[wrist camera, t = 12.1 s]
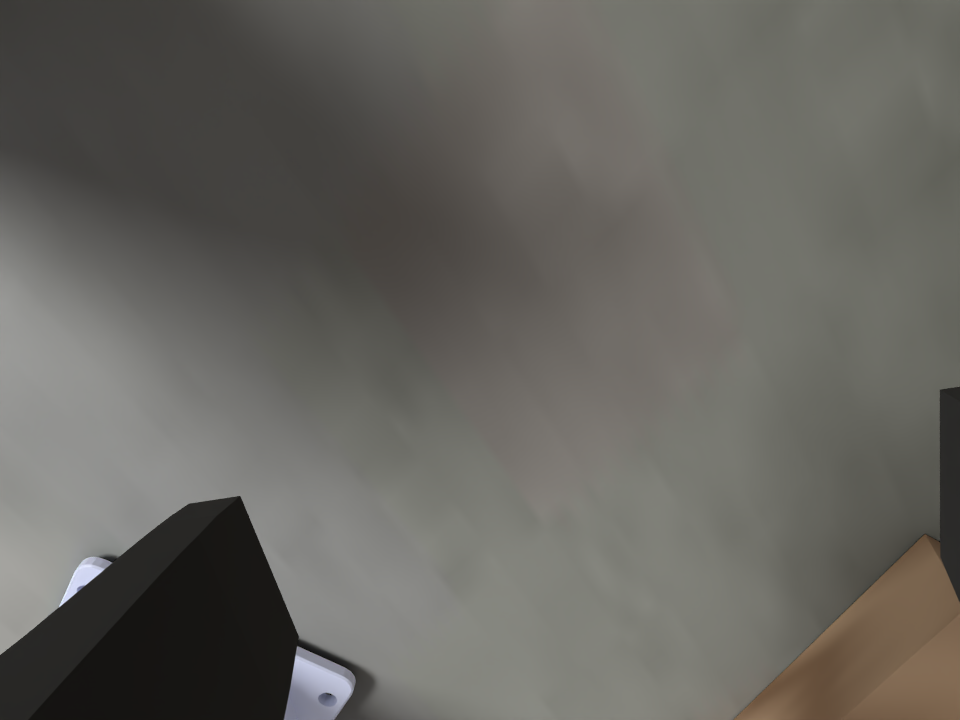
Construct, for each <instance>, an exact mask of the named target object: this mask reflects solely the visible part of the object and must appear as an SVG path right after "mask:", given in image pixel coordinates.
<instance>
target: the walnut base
mask: <svg viewBox="0 0 960 720" xmlns="http://www.w3.org/2000/svg"><path fill="white" fill-rule="evenodd" d="M734 720H960V602H959V600H958V598H957V595H956V593H955V591H954V588H953V586H952V584H951V581H950V579H949V577H948V574H947V572H946V570H945V567H944V565H943V562H942V560H941V558H940V542H939V541H937V540H935V539H933V538H931V537H929V536H928V535H926V534H924V535H923V536H922V537H921V538H920V539H919V540H918V541H917V542H916V543H915V544H914V545H913V546H912V547H911V548H910V549H909V550H908V551H907V552H906V553H905V554H904V555H903V556H902V557H901V558H900V559H899V560H898V561H897V562H895V563H894V564H893V565H892V566H891V567H890V568H889V569H888V570H887V571H886V572H885V573H884V574H883V575H882V576H881V577H880V578H879V579H878V580H877V581H876V582H875V583H874V584H873V585H872V586H871V587H870V588H869V589H868V590H867V591H866V592H865V593H864V594H863V595H861V596H860V597H859V598H858V599H857V600H856V601H855V602H854V603H853V604H852V605H851V606H850V607H849V608H848V609H847V610H846V611H845V612H844V613H843V614H842V615H841V616H840V617H839V618H838V619H837V620H836V621H835V622H834V623H833V624H832V625H831V626H830V627H829V628H827V629H826V630H825V631H824V632H823V633H822V634H821V635H820V636H819V637H818V638H817V639H816V640H815V641H814V642H813V643H812V644H811V645H810V646H809V647H808V648H807V649H806V650H805V651H804V652H803V653H802V654H801V655H800V656H799V657H798V658H797V659H796V660H794V661H793V662H792V663H791V664H790V665H789V666H788V667H787V668H786V669H785V670H784V671H783V672H782V673H781V674H780V675H779V676H778V677H777V678H776V679H775V680H774V681H773V682H772V683H771V684H770V685H769V686H768V687H767V688H766V689H765V690H764V691H763V692H762V693H760V694H759V695H758V696H757V697H756V698H755V699H754V700H753V701H752V702H751V703H750V704H749V705H748V706H747V707H746V708H745V709H744V710H743V711H742V712H741V713H740V714H739V715H738V716H737V717H736V718H735V719H734Z"/></svg>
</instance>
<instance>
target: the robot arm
mask: <svg viewBox="0 0 960 720" xmlns="http://www.w3.org/2000/svg"><path fill="white" fill-rule="evenodd" d="M940 558H941V560H942V562H943V565H944V567H945V570H946V572H947V574H948V577H949V579H950V581H951V584H952V586H953V588H954V591H955V593H956V595H957V598H958V600H959V602H960V387H955V388H948V389H942V390H940ZM298 638H299V636H298V634H297V631H296V629H295V626H294V624H293V622H292V619H291V617H290V614H289V612H288V610H287V607H286V605H285V602H284V600H283V598H282V595H281V593H280V590H279V588H278V586H277V583H276V581H275V578H274V576H273V574H272V571H271V569H270V566H269V564H268V562H267V559H266V557H265V554H264V552H263V550H262V547H261V545H260V542H259V540H258V538H257V535H256V533H255V530H254V528H253V526H252V523H251V521H250V518H249V516H248V514H247V511H246V509H245V506H244V504H243V502H242V499H241V497H240V496H237V497H231V498H224V499H218V500H211V501H204V502H198V503H191V504H188V505H187V506H185V507H184V508H182V509H181V510H179V511H178V512H176V513H175V514H173V515H172V516H170V517H169V518H168V519H166V520H165V521H164V522H162V523H161V524H160V525H158V526H157V527H156V528H155V529H153V530H152V531H151V532H149V533H148V534H147V535H146V536H144V537H143V538H142V539H141V540H140V541H138V542H137V543H136V544H135V545H133V546H132V547H131V548H130V549H129V550H127V551H126V552H125V553H124V554H122V555H121V556H120V557H119V558H118V559H116V560H115V561H114V562H113V563H112V562H110V561H108V560H105V559H102V558H99V557H89V558H86V559H84V560H83V561H82V562H81V564H80V565H79V566H78V568H77V569H76V571H75V572H74V575H73V577H72V579H71V581H70V584H69V586H68V588H67V590H66V593H65V595H64V597H63V599H62V602H61V604H60V606H59V608H58V609H57V610H55V611H54V612H53V613H52V614H51V615H49V616H48V617H47V618H46V619H45V620H43V621H42V622H41V623H40V624H39V625H37V626H36V627H35V628H34V629H33V630H31V631H30V632H29V633H28V634H26V635H25V636H24V637H23V638H21V639H20V640H19V641H18V642H16V643H15V644H14V645H12V646H11V647H10V648H9V649H7V650H6V651H5V652H4V653H2V654H1V655H0V720H334V719H335V718H336V717H337V715H338V714H339V712H340V711H341V709H342V708H343V707H344V705H345V704H346V702H347V701H348V700H349V698H350V697H351V695H352V693H353V690H354V687H355V683H356V680H355V676H354V675H353V673H352V672H351V671H350V670H348V669H346V668H345V667H343V666H340V665H338V664H336V663H334V662H332V661H329V660H327V659H325V658H323V657H321V656H318V655H316V654H314V653H312V652H309V651H307V650H305V649H303V648H301V647H298V646H297V644H298ZM325 693H330V694H332V695H327V694H325Z"/></svg>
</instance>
